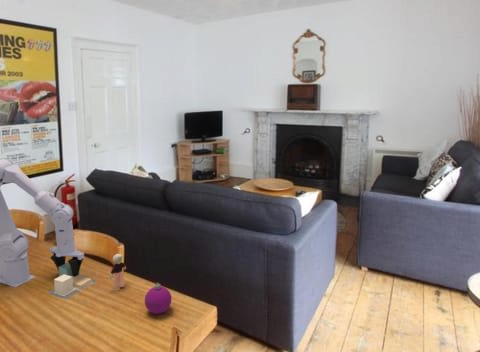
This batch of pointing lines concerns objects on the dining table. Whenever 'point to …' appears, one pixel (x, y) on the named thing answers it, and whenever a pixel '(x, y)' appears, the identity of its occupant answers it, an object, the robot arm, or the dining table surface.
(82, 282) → the beech brick
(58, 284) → the cream block
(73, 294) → the slate mat
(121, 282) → the grandmother figurine
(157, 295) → the christmas ornament
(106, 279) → the dining table surface
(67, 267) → the teal block
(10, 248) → the robot arm
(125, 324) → the dining table surface
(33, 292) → the dining table surface
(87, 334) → the dining table surface
